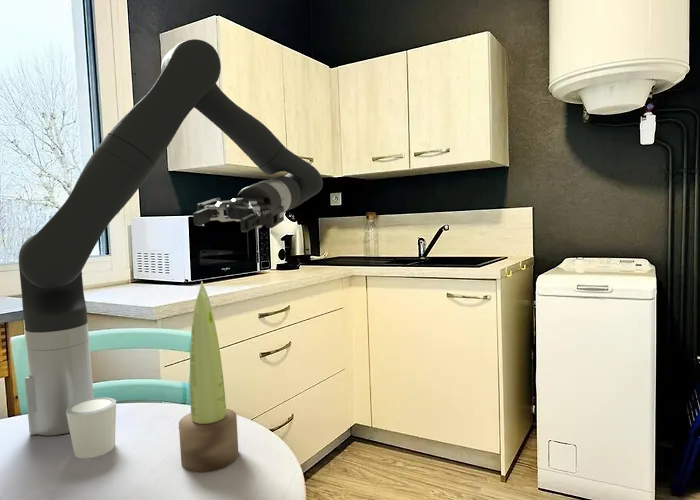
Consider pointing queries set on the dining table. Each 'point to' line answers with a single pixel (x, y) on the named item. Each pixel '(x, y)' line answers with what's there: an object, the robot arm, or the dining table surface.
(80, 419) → the white cup
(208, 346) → the tube
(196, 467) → the walnut block
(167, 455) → the dining table surface
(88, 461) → the dining table surface
